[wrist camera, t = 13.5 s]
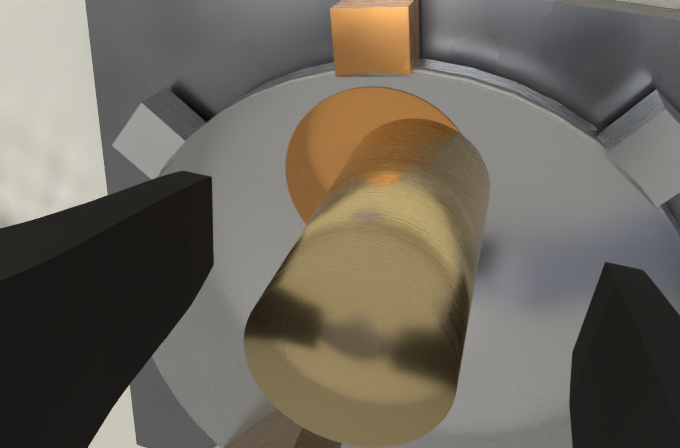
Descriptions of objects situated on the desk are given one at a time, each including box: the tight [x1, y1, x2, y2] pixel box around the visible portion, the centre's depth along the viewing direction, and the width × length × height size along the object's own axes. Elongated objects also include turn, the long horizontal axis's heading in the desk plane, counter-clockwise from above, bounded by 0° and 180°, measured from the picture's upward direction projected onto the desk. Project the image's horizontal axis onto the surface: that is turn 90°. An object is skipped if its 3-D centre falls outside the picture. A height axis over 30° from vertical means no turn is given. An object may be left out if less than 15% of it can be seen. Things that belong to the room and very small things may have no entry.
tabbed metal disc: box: [112, 0, 680, 448], centre depth 16 cm, size 18×18×5 cm
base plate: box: [85, 0, 680, 448], centre depth 19 cm, size 18×18×1 cm
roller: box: [244, 118, 490, 447], centre depth 12 cm, size 3×3×6 cm
